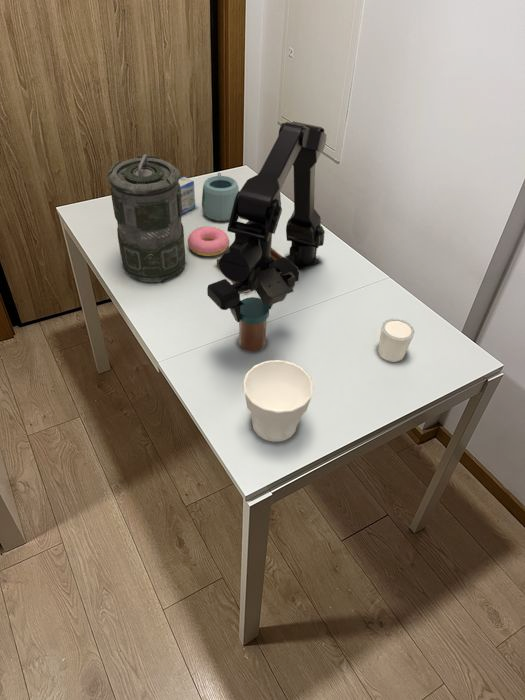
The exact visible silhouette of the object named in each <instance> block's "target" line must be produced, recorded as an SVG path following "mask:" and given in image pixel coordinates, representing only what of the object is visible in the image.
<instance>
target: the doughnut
mask: <svg viewBox="0 0 525 700" xmlns="http://www.w3.org/2000/svg"><path fill="white" fill-rule="evenodd" d="M187 244H188V246H189V248H190V250H191V251H192V252H193V253H195V254H196V255H199V256H202V257H214V256H218V255H221V254H223V253H225V252H226V251H227V249H228V248H229V244H230V239H229V236H228V234H227V233H226V232H225V231H224V230H223V229H221V228H219V227H216V226H201V227H198V228H195V229H194V230H192V231H191V233H189V235H188V236H187Z"/></svg>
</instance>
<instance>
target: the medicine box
mask: <svg viewBox="0 0 525 700" xmlns="http://www.w3.org/2000/svg"><path fill="white" fill-rule="evenodd" d="M178 182H179V184H180V187H181V201H182V215H184V214H186V213H188V212H190V211H192V210H194V209H196V195H195V181H194V180H193V179H191V178H188V177H186V176H182V177H180V179H179V181H178Z"/></svg>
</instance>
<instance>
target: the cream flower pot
mask: <svg viewBox="0 0 525 700" xmlns="http://www.w3.org/2000/svg"><path fill="white" fill-rule="evenodd" d="M242 386H243V391H244V397H245V403H246V408H247V409H248V411H249V412H250V416H251V420H252V428H253V430H254V432H255V433H256V435H258V437H260V438H261V439H263V440H265V441H268V442H284V441H286V440H288V439H290V438H291V437H292V436H293V435H294V434H295V433H296V431H297V427H298V425H299V423H300V420H301V419H302V417H303V415H304V414H305V413H306V412H307V410H308V407H309V405H310V402H311V400H312V396H313V392H314V388H315V387H314V384H313V380H312V377H311V376H310V374H308V372H306V371H305V369H304V368H302V367H301V366H299V365H298V364H295V363H293V362H292V361H286V360H282V359H274V360H273V359H272V360H265V361H263V362H260V363H257V364H256V365H253V367H252V368H251V369H249V370H248V371H247V372H246V373H245V375H244V379H243V382H242Z"/></svg>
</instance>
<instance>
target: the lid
mask: <svg viewBox="0 0 525 700" xmlns="http://www.w3.org/2000/svg"><path fill="white" fill-rule="evenodd" d="M240 300H241V299H240ZM241 301H242V302H243V303H244V305H241V306H240V320H241V321H243V322H245V323H248V324H260V323H262V322H264V321H266V320H268V319H269V317H270V310H269V306H266V305H265V304H264V303H263V302H262V299H261V298H260V297H255V296H250V297H246V298H243V299H242V300H241Z"/></svg>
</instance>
